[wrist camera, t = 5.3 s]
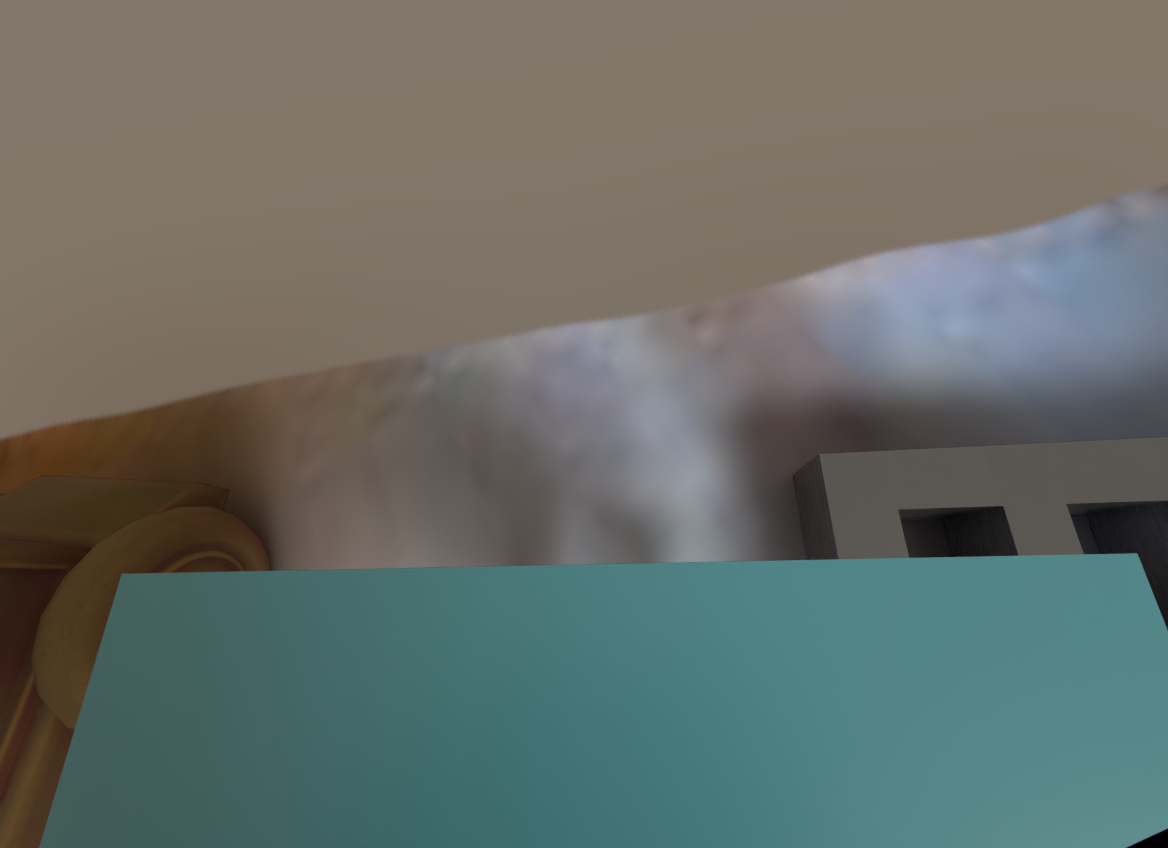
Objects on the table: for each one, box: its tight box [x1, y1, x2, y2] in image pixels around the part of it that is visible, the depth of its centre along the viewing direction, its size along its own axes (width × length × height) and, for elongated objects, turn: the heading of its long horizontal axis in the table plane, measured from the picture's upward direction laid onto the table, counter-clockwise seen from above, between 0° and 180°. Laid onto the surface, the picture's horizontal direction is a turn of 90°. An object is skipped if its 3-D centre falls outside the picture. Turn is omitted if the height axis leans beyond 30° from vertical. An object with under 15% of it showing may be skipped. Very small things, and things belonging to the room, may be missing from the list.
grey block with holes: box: [793, 437, 1168, 630], centre depth 13 cm, size 9×18×3 cm, turn 91°
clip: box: [39, 553, 1168, 848], centre depth 8 cm, size 4×6×13 cm, turn 91°
